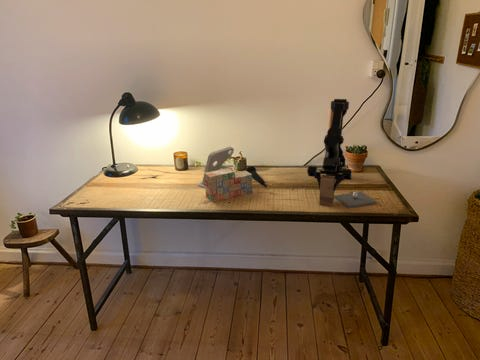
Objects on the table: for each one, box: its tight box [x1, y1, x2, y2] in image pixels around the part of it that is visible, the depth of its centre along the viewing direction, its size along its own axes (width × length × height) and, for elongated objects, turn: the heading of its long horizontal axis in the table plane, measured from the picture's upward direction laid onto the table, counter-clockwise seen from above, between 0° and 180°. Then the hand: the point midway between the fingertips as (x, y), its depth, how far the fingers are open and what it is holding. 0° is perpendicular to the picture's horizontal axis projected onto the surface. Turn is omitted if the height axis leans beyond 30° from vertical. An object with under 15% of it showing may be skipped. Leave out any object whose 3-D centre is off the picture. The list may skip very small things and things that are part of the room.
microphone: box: [245, 165, 268, 188], centre depth 203 cm, size 6×6×20 cm
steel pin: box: [352, 190, 359, 199], centre depth 176 cm, size 2×2×4 cm
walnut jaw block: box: [318, 174, 336, 207], centre depth 173 cm, size 6×6×12 cm
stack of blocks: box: [204, 168, 253, 202], centre depth 185 cm, size 21×6×12 cm, turn 117°
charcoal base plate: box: [334, 191, 378, 209], centre depth 177 cm, size 14×12×1 cm
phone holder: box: [197, 146, 234, 189], centre depth 198 cm, size 17×10×18 cm, turn 138°
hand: (326, 190), depth 172 cm, fingers closed on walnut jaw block, 6 cm apart
